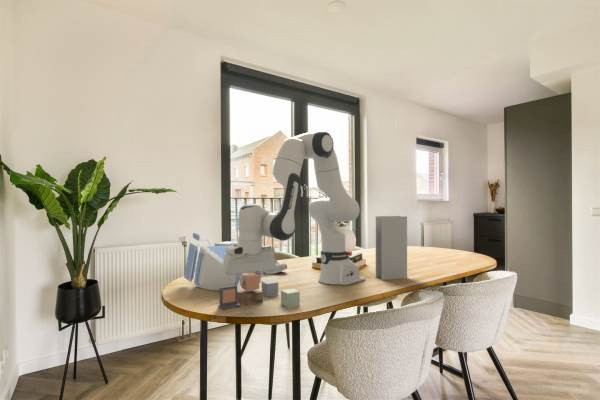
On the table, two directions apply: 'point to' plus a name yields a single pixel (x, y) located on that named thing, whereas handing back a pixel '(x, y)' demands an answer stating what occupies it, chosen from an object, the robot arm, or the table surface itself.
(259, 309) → the table surface
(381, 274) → the tall grey pillar
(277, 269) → the running shoe
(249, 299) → the brown curved block
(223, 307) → the tile
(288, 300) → the sage cube
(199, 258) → the retro all-in-one computer
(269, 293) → the slate cube
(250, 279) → the terracotta cube
